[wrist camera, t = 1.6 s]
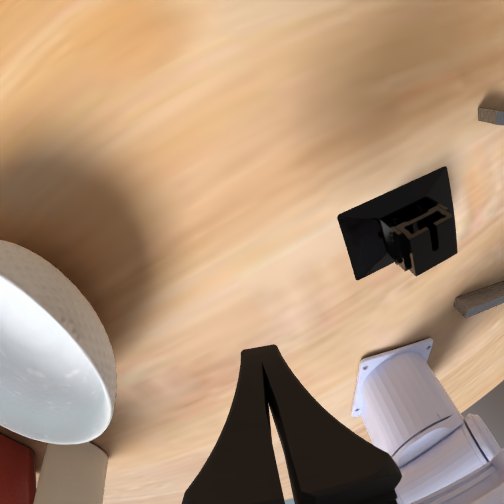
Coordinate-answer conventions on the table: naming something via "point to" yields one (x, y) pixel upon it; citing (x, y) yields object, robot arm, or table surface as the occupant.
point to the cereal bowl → (51, 354)
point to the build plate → (402, 227)
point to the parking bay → (496, 292)
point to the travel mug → (72, 475)
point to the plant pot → (16, 473)
